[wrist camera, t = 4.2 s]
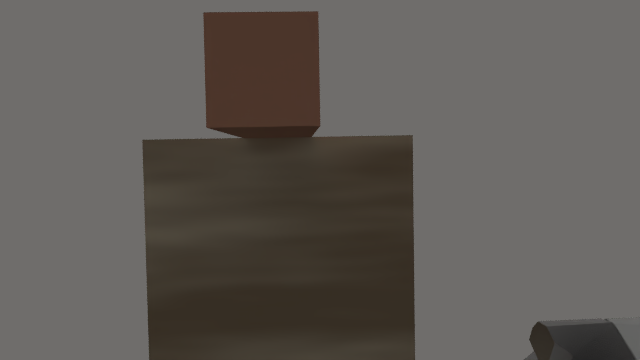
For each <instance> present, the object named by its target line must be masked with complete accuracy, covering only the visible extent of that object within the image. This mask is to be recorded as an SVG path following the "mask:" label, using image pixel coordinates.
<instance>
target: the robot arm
mask: <svg viewBox="0 0 640 360" xmlns="http://www.w3.org/2000/svg"><path fill="white" fill-rule="evenodd" d="M529 340H530V342H531V345H532V347H533V349H534V352H533V353H532V354H530V355H529V356H528V357H527V358H525V359H524V360H640V317H636V318H614V319H613V318H612V319H604V320H603V319H582V320H561V321H541V322H537V323H536V325H535V326H534V327H533V328H532V332H531V335H530V339H529Z"/></svg>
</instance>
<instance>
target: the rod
mask: <svg viewBox="0 0 640 360" xmlns="http://www.w3.org/2000/svg"><path fill="white" fill-rule="evenodd" d="M318 32H319V30H318V12H317V11H316V12H218V13H217V12H209V13H204V48H205V49H204V50H205V88H206V122H207V123H206V127H207V128H210V129H213V130H217V131H221V132H224V133H227V134H231V135H234V136H238V137H242V138H284V137H312V136H313V134H314V133H315V132H316V130H317V129H318V128H319V127H320V94H319V93H320V92H319V91H320V89H319V87H320V86H319V33H318Z"/></svg>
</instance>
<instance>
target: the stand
mask: <svg viewBox="0 0 640 360" xmlns="http://www.w3.org/2000/svg"><path fill="white" fill-rule="evenodd" d="M412 137H413V136H412V135H406V136H404V135H402V136H346V137H345V136H343V137H284V138H227V139H226V138H225V139H167V140H166V139H165V140H143V172H144V202H145V204H144V205H145V236H146V269H147V299H148V300H147V301H148V332H149V333H148V334H149V360H415V324H414V233H413V232H414V230H413V229H414V228H413V138H412Z"/></svg>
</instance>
